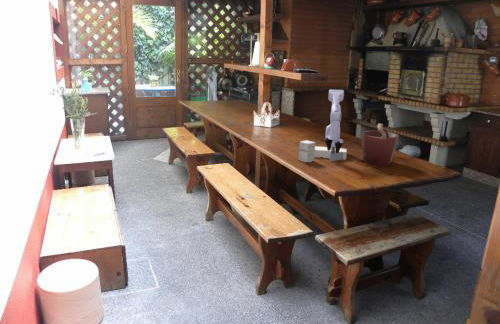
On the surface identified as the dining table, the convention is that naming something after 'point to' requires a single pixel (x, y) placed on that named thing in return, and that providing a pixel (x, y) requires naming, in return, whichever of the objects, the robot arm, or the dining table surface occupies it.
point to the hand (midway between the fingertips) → (333, 151)
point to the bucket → (378, 146)
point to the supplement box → (306, 151)
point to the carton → (327, 152)
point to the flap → (335, 155)
